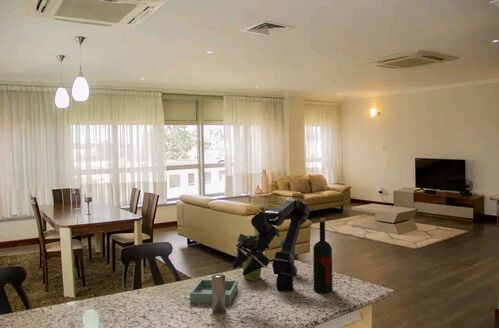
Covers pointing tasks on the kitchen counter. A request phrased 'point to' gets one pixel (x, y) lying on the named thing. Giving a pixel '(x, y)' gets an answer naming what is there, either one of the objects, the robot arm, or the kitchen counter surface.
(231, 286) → the tray
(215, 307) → the canister
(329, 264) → the wine bottle
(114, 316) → the kitchen counter surface
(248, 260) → the plant pot
